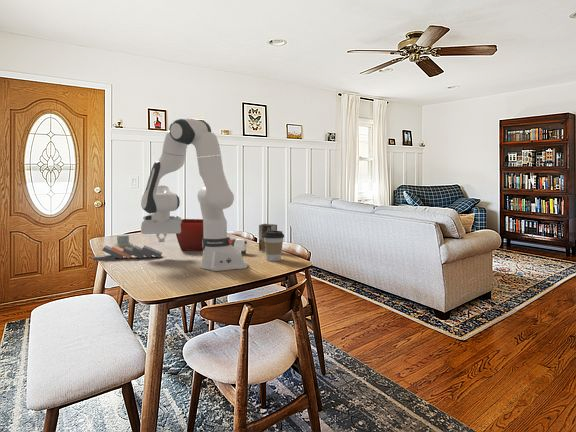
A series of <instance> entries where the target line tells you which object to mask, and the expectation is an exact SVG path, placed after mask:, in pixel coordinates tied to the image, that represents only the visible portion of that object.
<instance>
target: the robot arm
mask: <svg viewBox="0 0 576 432" xmlns="http://www.w3.org/2000/svg"><path fill="white" fill-rule="evenodd" d="M190 144H191V145H193V147H194V148H195V152H196V153H195V154H196V160H197V165H198V173H199V176H200V177H201V179H202V181H203V184H204V186H202V188H199V190H198V192H197V195H196V196H197V201H198V202H199V205H200V211H201V216H202V219H203V233H204V237H203V240H202V248H203V250H202V258H201V262H200V266H199V267H200V268H201V269H204V270H210V271H213V272H214V271H215V272H217V271H218V272H220V271H229V270H230V271H231V270H241V269H246V268H247V267H248V262H247V261H245V260H244V257H243V255H242V254H241V251H239V250H237V249H236V248H235V247H233V246H232V245H231V243H232V242H233V241H232V238H231V237H230V238H228V237H229V236H228V221H227V218H226V217H225V213H224V210H225V209H228V208H230V207H231V206H232V205H233V203H234V200H235V197H234V196H235V195H234V193H233V192H232V190H231V189H230V187H229V183H228V181H227V178H226V176H225V172H224V165H223V160H222V152H221V147H220V143H219V140H218V137H217V135H216V134H215V133H214V132H212V128H211V126H210V124H209V122H208V123H207V122H206V121H204V120H201V119H193V118H179V119H178V118H177V119H175V120H173V121H171V123H170V124H169V128H168V131H166V134H165V137H164V141H163V144H162V145H163V146H162V151H161V155H160V157H159V158H158V159H157V161H155V162H153V165H152V168H151V170H150V174H149V177H148V180H147V184H146V187H145V190H144V193H143V195H142V197H141V200H140V206H141V208H142V210H143V211H145V212H146V213H148V214H146V215H144V216H143V217H142V220H143V221H142V223H141V226H140V233H141V235H155V236H156V238H157V239H158V243H165V242H166V241H165V239H166V237H167V235H168V234H169V235H172V234H175V235H176V234H177V233H180V232H181V223H182V219H183V218H181V217H180V216H178V215H176V216H174V215H173V216H172V215H171V213H170V212H174V211H177V210H178V209H179V207H180V204H181V202H180V201H181V200H180V197H179V195H178V194H176V193H175V192H172V191H171V190H170V189H169V186H166V185H160V180H161V179H162V178H163V177H164V176H166V175H168V174H170V173H173V172H174V173H175V172H176V171H178V170H180V169H181V168H183V166H184V164H185V163H186V156H187V148H188V146H189V145H190ZM162 234H163V236H164V237H160V235H162Z"/></svg>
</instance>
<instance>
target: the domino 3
mask: <svg viewBox="0 0 576 432" xmlns="http://www.w3.org/2000/svg"><path fill="white" fill-rule="evenodd" d="M123 250H124V249H122V248H120V247H118V246H116V245H114V246H113V245H112V247H111V251H113V252H116V253H118V254H120V255H122V256H123V257H124V258H127V259H130V258H131V257H132V255H130V254H128V253H125V252H123Z"/></svg>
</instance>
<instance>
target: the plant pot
mask: <svg viewBox="0 0 576 432" xmlns="http://www.w3.org/2000/svg"><path fill="white" fill-rule="evenodd" d="M181 219H182V223H181V232H180V233H177V234H175V235H176V239H177V243H178V245H179V248H180V250H181V251H203V248H202V240H203V237H204V233H203V218H201V219H200V218H197V219H196V218H192V219H191V218H181Z"/></svg>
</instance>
